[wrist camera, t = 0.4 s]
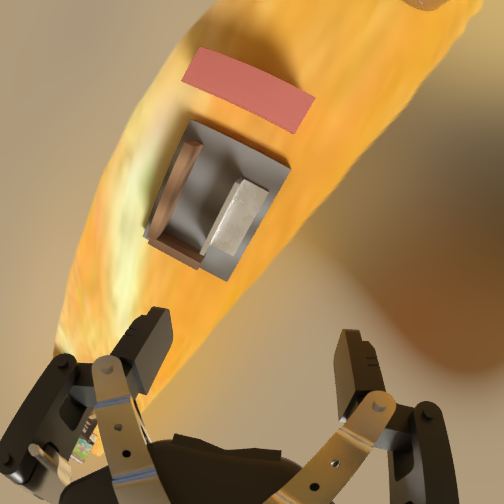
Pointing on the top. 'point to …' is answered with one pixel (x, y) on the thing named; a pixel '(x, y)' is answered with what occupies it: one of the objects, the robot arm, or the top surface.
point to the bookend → (235, 216)
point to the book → (249, 88)
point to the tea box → (83, 449)
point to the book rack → (207, 196)
